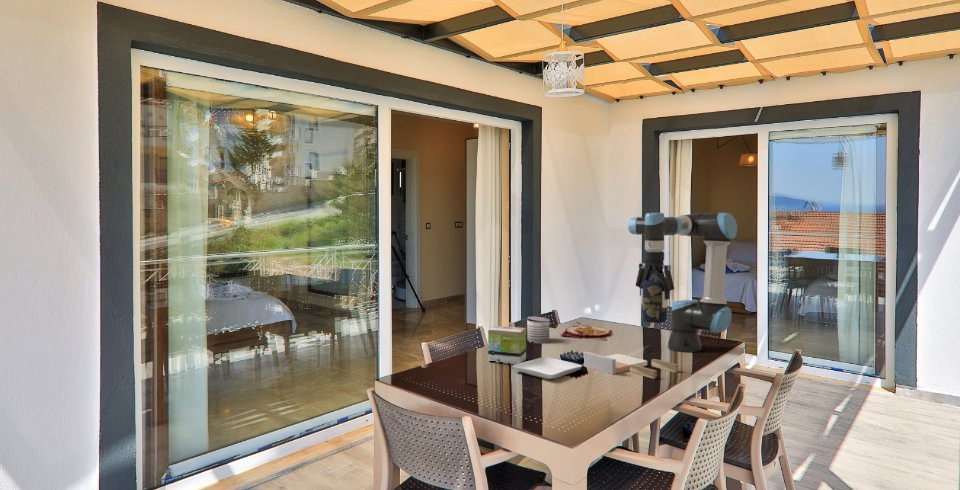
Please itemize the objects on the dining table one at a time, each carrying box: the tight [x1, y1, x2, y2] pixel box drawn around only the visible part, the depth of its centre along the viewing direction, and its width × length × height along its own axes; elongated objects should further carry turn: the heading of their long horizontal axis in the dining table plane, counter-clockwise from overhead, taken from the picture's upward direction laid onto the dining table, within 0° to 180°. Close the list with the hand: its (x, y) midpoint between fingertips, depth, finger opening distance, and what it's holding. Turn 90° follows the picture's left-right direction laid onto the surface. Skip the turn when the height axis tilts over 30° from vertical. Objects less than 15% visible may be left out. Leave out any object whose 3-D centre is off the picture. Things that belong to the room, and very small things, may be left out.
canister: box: [641, 278, 668, 324], centre depth 232 cm, size 10×10×18 cm
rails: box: [629, 358, 679, 380], centre depth 234 cm, size 16×12×3 cm
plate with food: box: [559, 321, 615, 341], centre depth 309 cm, size 25×26×4 cm
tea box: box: [487, 325, 527, 365], centre depth 254 cm, size 15×10×15 cm, turn 70°
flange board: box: [582, 351, 648, 375], centre depth 244 cm, size 22×16×6 cm
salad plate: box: [512, 356, 583, 380], centre depth 236 cm, size 21×21×3 cm
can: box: [526, 316, 550, 344], centre depth 293 cm, size 11×11×12 cm
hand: (654, 305), depth 233 cm, fingers closed on canister, 10 cm apart
